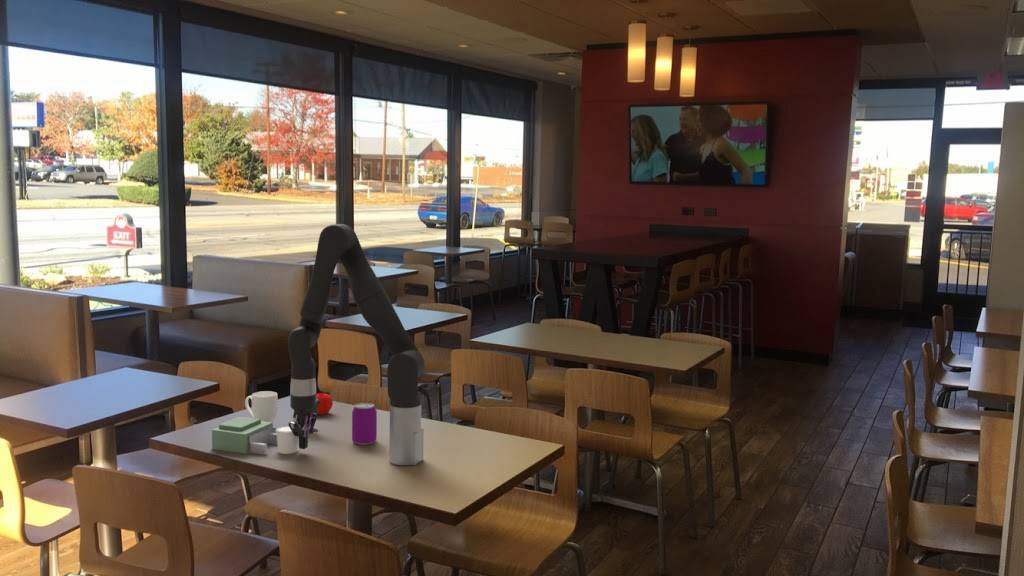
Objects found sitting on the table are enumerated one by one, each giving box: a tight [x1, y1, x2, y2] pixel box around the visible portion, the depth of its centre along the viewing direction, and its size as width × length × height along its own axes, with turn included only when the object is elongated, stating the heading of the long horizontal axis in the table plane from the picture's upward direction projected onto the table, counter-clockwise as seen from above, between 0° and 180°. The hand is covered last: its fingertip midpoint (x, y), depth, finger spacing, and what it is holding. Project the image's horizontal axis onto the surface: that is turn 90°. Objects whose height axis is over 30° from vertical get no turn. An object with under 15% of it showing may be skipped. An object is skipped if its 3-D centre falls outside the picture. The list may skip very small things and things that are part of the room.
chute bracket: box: [248, 427, 277, 456], centre depth 255 cm, size 6×11×5 cm, turn 162°
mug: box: [244, 390, 279, 423], centre depth 278 cm, size 12×8×11 cm
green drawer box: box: [211, 416, 274, 454], centre depth 258 cm, size 12×14×7 cm
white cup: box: [275, 425, 299, 455], centre depth 253 cm, size 7×7×7 cm
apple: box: [316, 393, 334, 415], centre depth 296 cm, size 8×8×7 cm
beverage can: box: [351, 402, 378, 446], centre depth 264 cm, size 8×8×12 cm
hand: (303, 448), depth 252 cm, fingers closed
